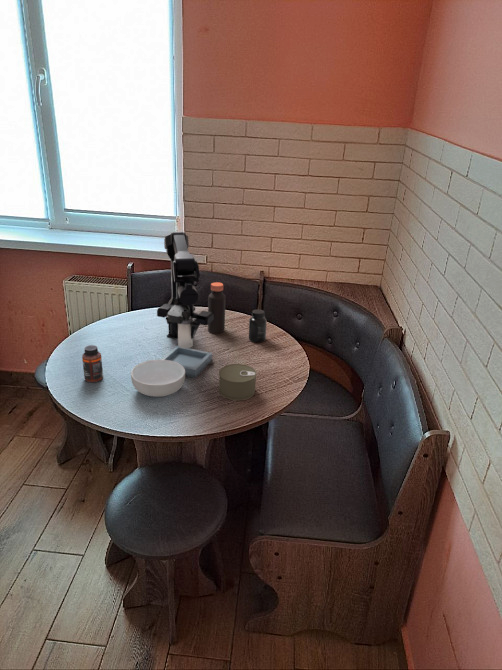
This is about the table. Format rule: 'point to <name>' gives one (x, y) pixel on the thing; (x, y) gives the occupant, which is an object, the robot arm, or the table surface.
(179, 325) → the shaker
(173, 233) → the robot arm
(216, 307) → the vinegar
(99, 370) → the supplement bottle
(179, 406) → the table surface
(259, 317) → the supplement bottle
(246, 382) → the can
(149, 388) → the cereal bowl
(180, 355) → the tray
